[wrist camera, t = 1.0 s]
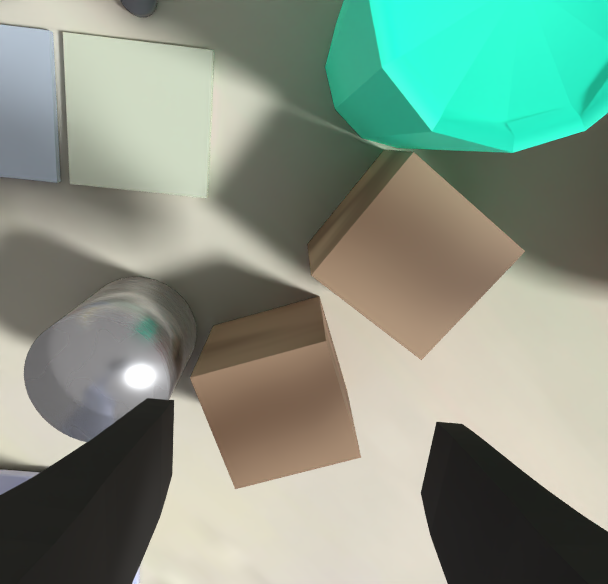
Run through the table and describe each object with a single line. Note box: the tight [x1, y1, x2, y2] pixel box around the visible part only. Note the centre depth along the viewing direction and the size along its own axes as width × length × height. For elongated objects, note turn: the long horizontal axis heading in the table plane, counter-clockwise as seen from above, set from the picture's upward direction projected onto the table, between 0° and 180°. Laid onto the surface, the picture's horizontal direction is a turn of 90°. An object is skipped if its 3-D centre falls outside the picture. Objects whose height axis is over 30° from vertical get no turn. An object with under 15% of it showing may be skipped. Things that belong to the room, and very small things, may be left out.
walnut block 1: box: [190, 296, 361, 489], centre depth 19 cm, size 5×5×5 cm
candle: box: [325, 0, 608, 153], centre depth 12 cm, size 6×6×12 cm
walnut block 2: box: [307, 150, 525, 360], centre depth 18 cm, size 5×5×5 cm
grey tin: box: [24, 277, 197, 442], centre depth 19 cm, size 5×5×5 cm
